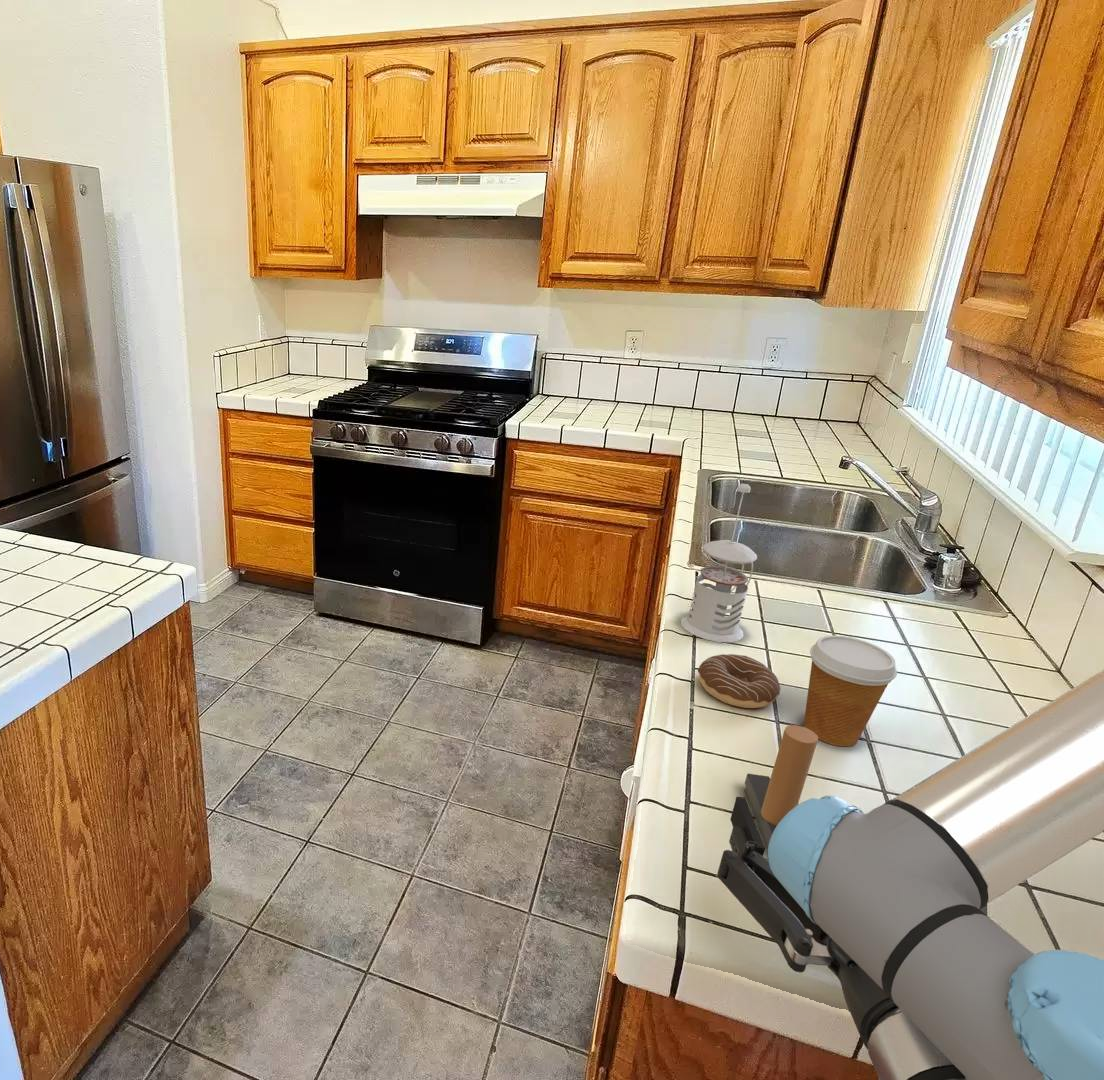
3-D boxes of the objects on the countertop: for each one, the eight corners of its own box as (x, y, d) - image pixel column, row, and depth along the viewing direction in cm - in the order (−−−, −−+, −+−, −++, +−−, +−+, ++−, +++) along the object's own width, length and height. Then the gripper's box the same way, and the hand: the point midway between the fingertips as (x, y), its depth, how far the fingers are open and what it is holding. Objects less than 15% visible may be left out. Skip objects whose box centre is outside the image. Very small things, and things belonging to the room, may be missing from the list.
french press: (668, 622, 126) (697, 479, 117) (710, 607, 132) (741, 470, 123) (720, 647, 119) (756, 497, 109) (762, 631, 125) (800, 487, 116)
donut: (740, 668, 113) (746, 645, 111) (794, 708, 103) (801, 683, 102) (679, 676, 110) (685, 652, 109) (728, 717, 101) (735, 692, 99)
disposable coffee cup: (773, 717, 101) (795, 638, 97) (826, 706, 104) (849, 629, 100) (834, 761, 93) (861, 677, 88) (889, 747, 96) (918, 665, 92)
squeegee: (767, 794, 86) (795, 697, 82) (807, 889, 74) (843, 781, 69) (739, 790, 87) (765, 694, 82) (775, 883, 74) (808, 776, 69)
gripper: (719, 1040, 54) (667, 830, 73) (1112, 1117, 50) (948, 874, 70) (742, 964, 51) (682, 766, 70) (1160, 1039, 47) (975, 809, 67)
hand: (814, 819), depth 70 cm, fingers open, 13 cm apart
